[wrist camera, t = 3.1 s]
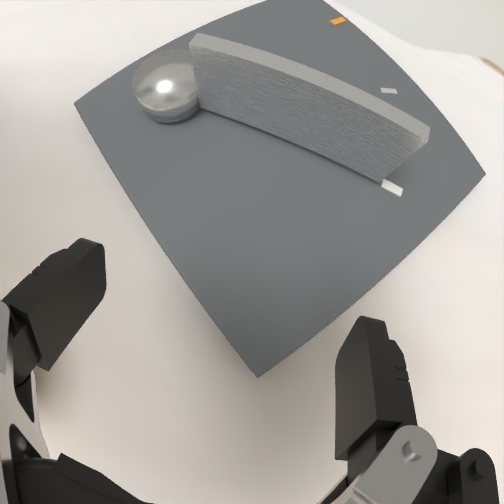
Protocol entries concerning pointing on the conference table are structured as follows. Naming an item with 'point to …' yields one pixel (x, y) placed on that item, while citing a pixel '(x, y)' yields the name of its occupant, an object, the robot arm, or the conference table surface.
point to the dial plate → (279, 186)
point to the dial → (279, 102)
